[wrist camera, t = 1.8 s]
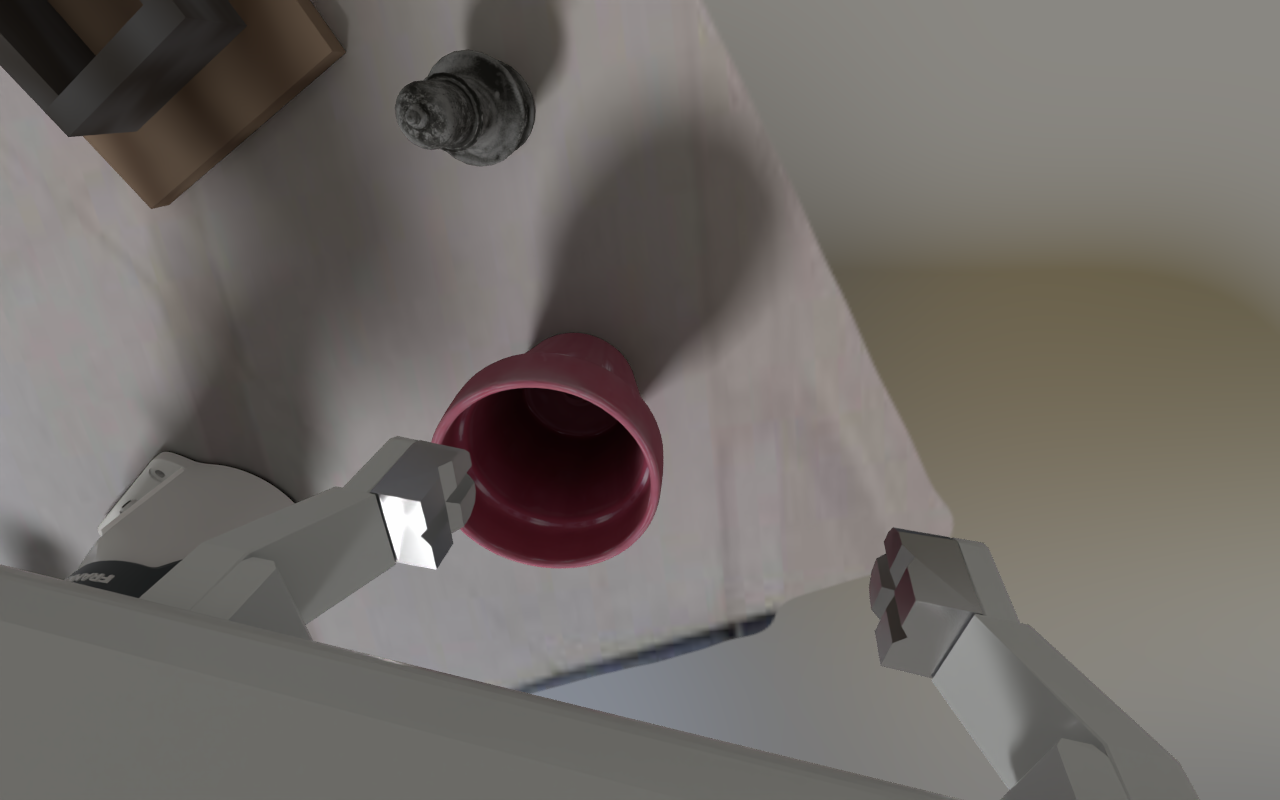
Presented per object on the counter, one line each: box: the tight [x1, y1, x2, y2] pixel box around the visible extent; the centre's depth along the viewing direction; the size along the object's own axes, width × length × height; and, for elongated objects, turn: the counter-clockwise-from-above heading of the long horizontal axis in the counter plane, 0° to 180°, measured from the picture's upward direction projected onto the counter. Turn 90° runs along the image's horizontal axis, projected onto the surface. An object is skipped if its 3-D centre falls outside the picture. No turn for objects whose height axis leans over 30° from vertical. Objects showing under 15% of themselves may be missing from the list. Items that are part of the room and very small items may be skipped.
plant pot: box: [431, 333, 663, 568], centre depth 38 cm, size 14×14×13 cm
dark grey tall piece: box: [395, 50, 535, 166], centre depth 29 cm, size 6×6×12 cm
